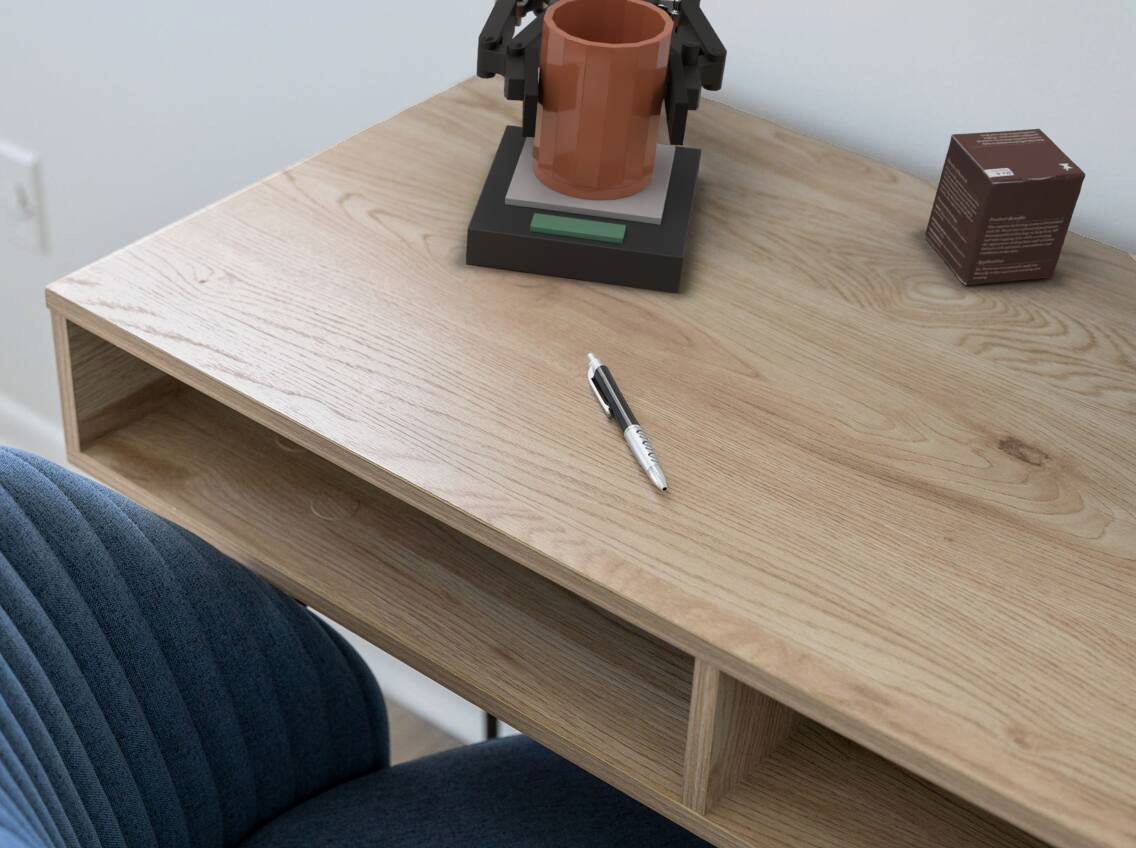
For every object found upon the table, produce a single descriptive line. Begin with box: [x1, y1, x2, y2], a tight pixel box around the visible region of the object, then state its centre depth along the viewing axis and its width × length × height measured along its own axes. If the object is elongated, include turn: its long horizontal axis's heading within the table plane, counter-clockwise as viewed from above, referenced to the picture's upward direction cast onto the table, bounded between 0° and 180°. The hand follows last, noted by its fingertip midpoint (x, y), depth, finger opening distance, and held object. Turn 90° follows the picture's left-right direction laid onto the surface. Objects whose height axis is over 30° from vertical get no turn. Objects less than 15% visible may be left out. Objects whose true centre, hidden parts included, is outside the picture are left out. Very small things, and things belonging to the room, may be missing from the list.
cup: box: [532, 0, 674, 200], centre depth 99 cm, size 8×8×10 cm
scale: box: [465, 124, 703, 294], centre depth 102 cm, size 13×14×3 cm
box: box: [924, 128, 1086, 286], centre depth 99 cm, size 6×6×7 cm
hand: (604, 120), depth 95 cm, fingers open, 8 cm apart
